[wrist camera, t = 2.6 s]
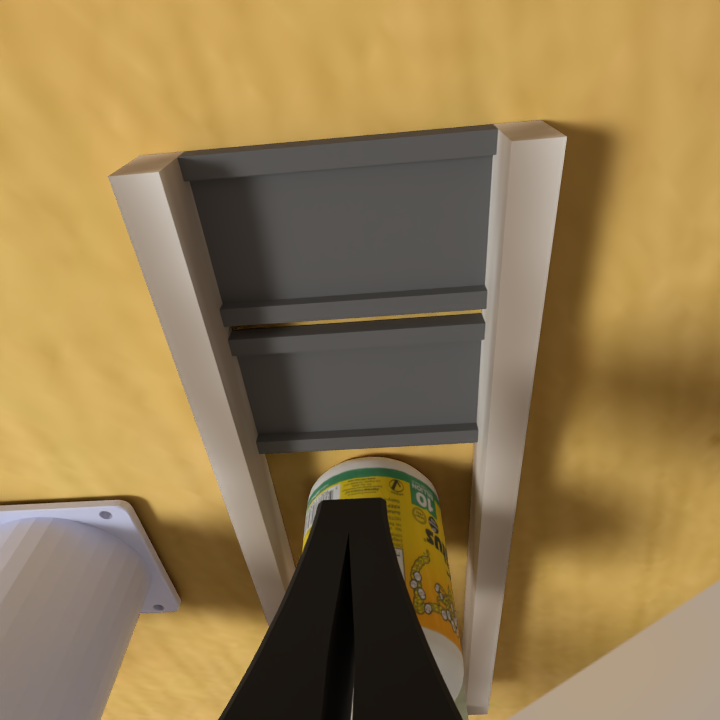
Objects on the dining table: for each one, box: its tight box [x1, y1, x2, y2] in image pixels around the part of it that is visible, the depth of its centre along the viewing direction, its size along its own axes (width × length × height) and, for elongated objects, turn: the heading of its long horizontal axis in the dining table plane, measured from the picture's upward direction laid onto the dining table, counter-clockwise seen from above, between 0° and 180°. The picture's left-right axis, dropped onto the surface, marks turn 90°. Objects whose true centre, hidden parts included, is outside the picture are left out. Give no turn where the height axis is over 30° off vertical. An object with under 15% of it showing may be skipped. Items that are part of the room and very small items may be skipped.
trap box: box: [108, 120, 567, 720], centre depth 20 cm, size 10×30×3 cm, turn 5°
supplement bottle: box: [302, 457, 464, 720], centre depth 17 cm, size 5×5×10 cm
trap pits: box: [177, 124, 498, 454], centre depth 16 cm, size 8×10×1 cm
